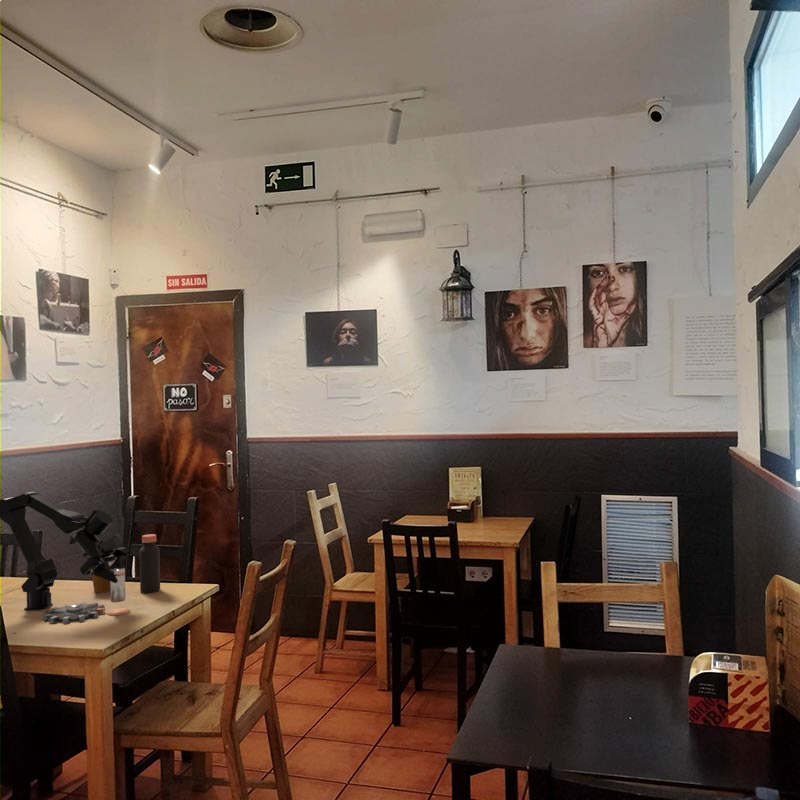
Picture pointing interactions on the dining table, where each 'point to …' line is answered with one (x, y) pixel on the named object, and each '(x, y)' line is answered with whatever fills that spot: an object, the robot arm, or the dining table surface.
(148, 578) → the bottle
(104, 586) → the disposable coffee cup
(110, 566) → the robot arm
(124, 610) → the seat pad
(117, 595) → the pin
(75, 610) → the sprocket
